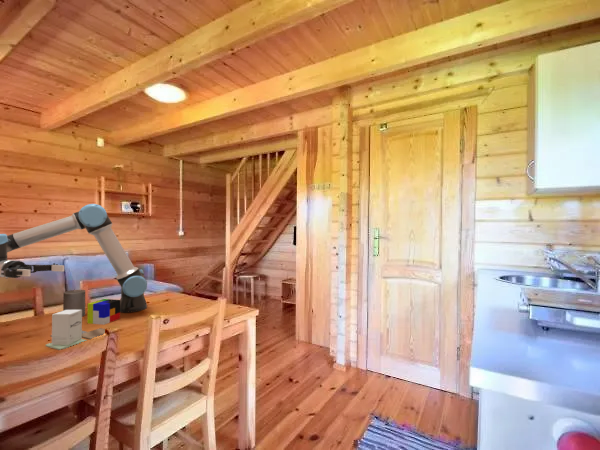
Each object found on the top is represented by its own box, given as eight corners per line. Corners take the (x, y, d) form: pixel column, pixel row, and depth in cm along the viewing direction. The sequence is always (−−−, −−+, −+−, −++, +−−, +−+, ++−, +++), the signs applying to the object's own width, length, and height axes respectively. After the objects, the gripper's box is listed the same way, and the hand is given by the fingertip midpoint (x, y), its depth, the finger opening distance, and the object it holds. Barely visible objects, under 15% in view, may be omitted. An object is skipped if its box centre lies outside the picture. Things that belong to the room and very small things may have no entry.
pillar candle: (58, 318, 161) (59, 290, 161) (78, 313, 170) (78, 286, 170) (70, 320, 157) (70, 291, 157) (89, 315, 166) (89, 288, 166)
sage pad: (72, 337, 132) (72, 336, 132) (86, 341, 128) (86, 340, 128) (45, 346, 123) (45, 344, 123) (59, 350, 119) (59, 348, 119)
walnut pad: (100, 329, 143) (100, 328, 143) (114, 332, 139) (114, 331, 139) (77, 336, 134) (77, 335, 134) (91, 339, 130) (91, 338, 130)
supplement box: (69, 345, 122) (69, 314, 122) (51, 345, 122) (51, 314, 122) (82, 338, 129) (82, 309, 130) (65, 338, 130) (65, 309, 130)
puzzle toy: (104, 324, 150) (104, 304, 150) (87, 323, 152) (87, 303, 152) (120, 318, 160) (120, 299, 160) (104, 317, 162) (104, 298, 162)
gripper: (41, 273, 146) (75, 274, 141) (-25, 282, 122) (13, 285, 117) (41, 257, 146) (75, 258, 141) (-25, 264, 122) (13, 265, 117)
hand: (47, 270), depth 129 cm, fingers open, 13 cm apart
